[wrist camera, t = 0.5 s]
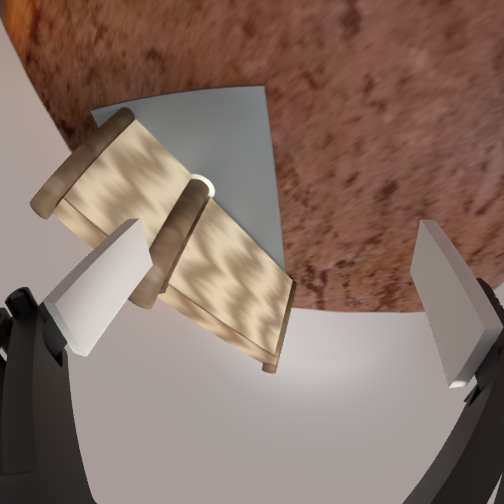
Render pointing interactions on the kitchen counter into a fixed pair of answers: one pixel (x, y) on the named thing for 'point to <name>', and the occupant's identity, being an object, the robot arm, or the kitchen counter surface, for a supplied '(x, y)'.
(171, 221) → the wooden fence section
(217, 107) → the card
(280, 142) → the kitchen counter surface
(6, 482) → the robot arm
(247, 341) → the fence panel
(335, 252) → the kitchen counter surface
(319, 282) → the kitchen counter surface
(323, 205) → the kitchen counter surface
